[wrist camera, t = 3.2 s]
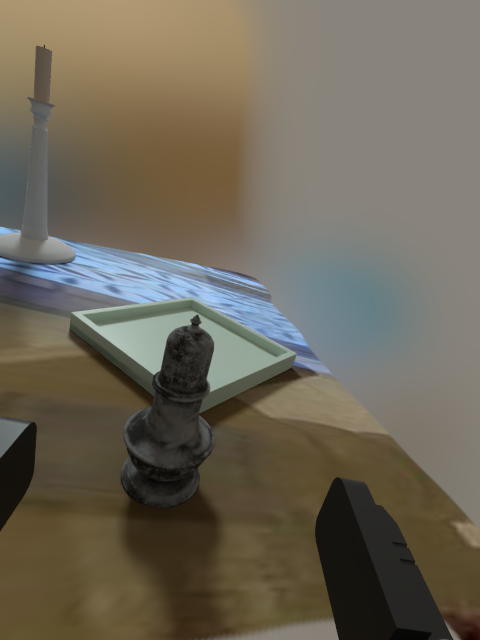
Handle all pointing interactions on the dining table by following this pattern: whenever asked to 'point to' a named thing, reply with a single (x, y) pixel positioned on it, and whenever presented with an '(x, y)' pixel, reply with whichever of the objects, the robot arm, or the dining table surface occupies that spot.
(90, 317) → the tray
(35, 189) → the candlestick
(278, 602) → the dining table surface
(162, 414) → the dark grey chess piece
